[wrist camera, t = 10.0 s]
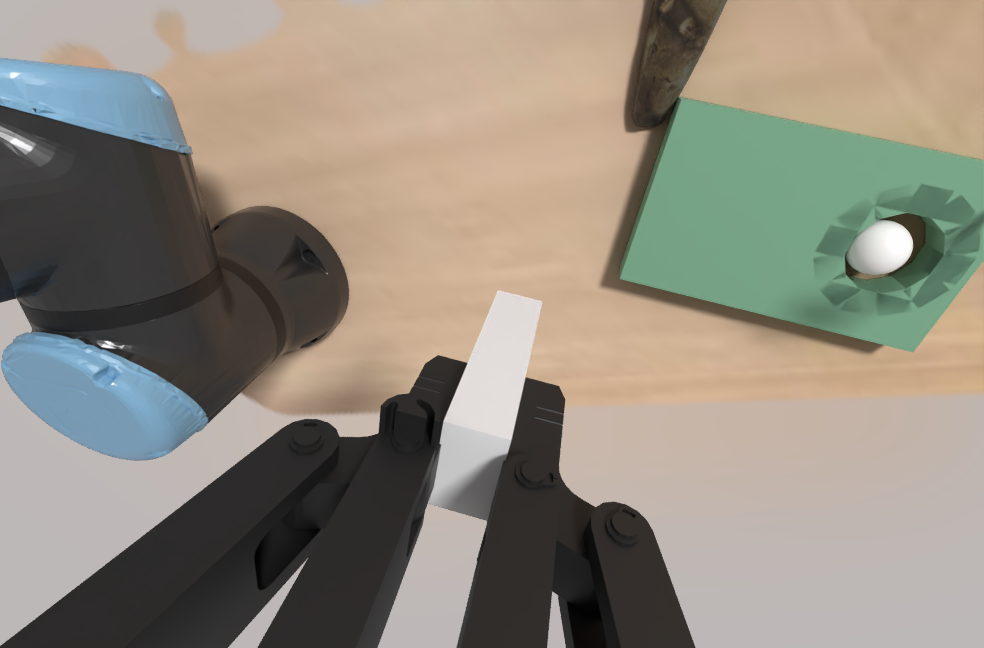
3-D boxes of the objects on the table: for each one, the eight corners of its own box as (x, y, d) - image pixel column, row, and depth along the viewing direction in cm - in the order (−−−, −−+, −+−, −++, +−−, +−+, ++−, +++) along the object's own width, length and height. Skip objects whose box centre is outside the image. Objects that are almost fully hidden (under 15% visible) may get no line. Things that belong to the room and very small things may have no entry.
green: (619, 267, 43) (620, 373, 29) (677, 96, 36) (716, 127, 22) (897, 336, 41) (1045, 488, 27) (1020, 167, 33) (1314, 255, 19)
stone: (678, -97, 31) (681, -107, 29) (758, -86, 30) (767, -95, 28) (620, 120, 38) (619, 124, 36) (684, 132, 37) (688, 137, 35)
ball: (822, 261, 37) (873, 285, 34) (850, 211, 35) (908, 233, 32) (851, 259, 39) (902, 283, 36) (880, 212, 37) (937, 232, 34)
